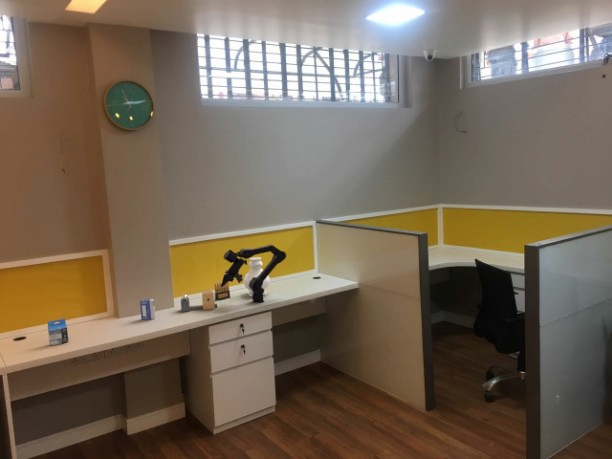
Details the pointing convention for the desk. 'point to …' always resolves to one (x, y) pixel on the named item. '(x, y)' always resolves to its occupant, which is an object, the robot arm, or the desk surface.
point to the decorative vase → (255, 274)
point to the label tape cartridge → (57, 332)
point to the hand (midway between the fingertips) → (221, 286)
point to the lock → (208, 300)
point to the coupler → (186, 307)
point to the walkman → (147, 309)
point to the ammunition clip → (221, 291)
